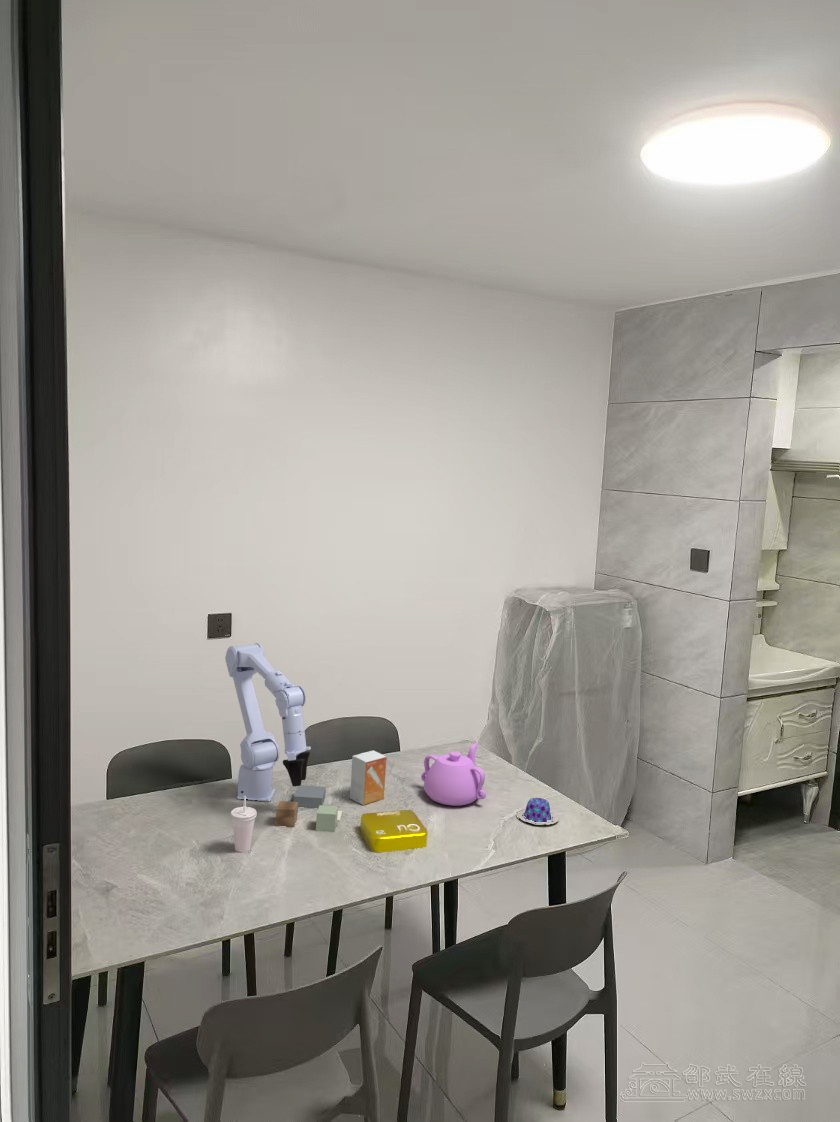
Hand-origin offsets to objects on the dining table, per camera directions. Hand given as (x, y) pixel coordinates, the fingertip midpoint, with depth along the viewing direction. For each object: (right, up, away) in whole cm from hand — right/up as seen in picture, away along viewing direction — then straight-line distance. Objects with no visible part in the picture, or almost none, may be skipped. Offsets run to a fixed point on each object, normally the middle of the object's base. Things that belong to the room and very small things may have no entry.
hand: (299, 782), depth 225 cm
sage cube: (+7, -12, -1) cm, 14 cm away
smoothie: (-12, -13, -15) cm, 23 cm away
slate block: (+1, -10, +14) cm, 17 cm away
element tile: (+25, -14, -4) cm, 29 cm away
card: (+8, -11, +6) cm, 14 cm away
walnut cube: (-3, -11, 0) cm, 11 cm away
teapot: (+43, -10, +25) cm, 51 cm away
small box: (+17, -10, +19) cm, 27 cm away
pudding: (+66, -14, +13) cm, 68 cm away
